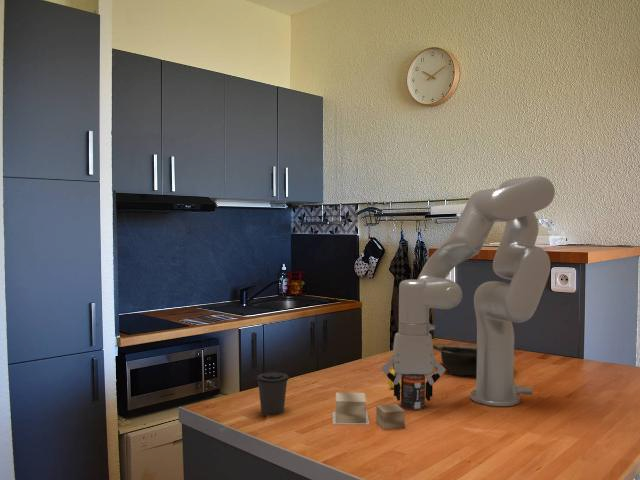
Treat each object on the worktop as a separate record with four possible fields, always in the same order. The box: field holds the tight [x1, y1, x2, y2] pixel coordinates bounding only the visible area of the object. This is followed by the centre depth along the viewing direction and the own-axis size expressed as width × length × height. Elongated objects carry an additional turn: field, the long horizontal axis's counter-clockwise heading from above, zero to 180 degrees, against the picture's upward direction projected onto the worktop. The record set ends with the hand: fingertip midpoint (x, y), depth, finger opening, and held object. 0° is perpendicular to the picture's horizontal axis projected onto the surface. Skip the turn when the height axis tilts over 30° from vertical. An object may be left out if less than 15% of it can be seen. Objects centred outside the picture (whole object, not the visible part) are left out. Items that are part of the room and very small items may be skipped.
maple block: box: [335, 391, 367, 423], centre depth 135 cm, size 7×7×5 cm
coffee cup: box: [256, 371, 290, 418], centre depth 140 cm, size 8×8×10 cm
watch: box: [387, 366, 401, 390], centre depth 163 cm, size 6×3×6 cm, turn 130°
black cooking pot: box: [433, 344, 477, 377], centre depth 183 cm, size 25×25×9 cm
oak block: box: [375, 403, 406, 431], centre depth 130 cm, size 5×5×4 cm
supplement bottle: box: [400, 374, 426, 412], centre depth 144 cm, size 6×6×11 cm
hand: (412, 398), depth 144 cm, fingers open, 6 cm apart
